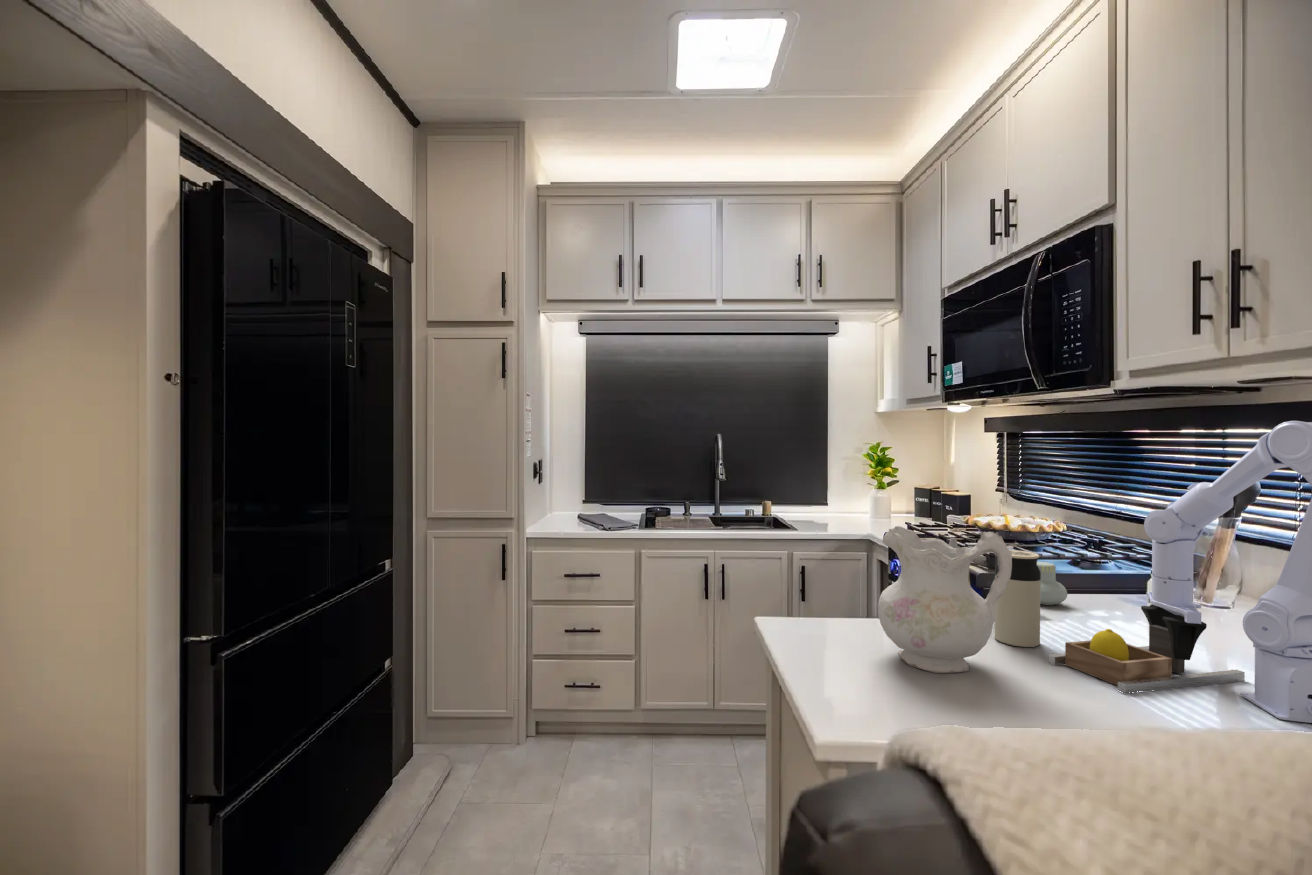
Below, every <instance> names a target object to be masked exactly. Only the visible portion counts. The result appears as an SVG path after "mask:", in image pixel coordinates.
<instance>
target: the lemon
mask: <svg viewBox="0 0 1312 875" xmlns="http://www.w3.org/2000/svg"><path fill="white" fill-rule="evenodd" d="M1090 641H1091V643H1090V650H1092V651H1095V652H1097V653H1100V654H1103V655H1106V656H1109V657H1111V658H1114V659H1117V660H1120V661H1128V660H1129V651H1128V647H1127V644H1128V643H1127V642H1126V641H1125V639H1124V638H1123V637H1122V636H1121V635H1120V634H1118V633H1117V632H1115V631H1113V630H1112V629H1111V628H1106V629H1105V630H1101V631H1098V632H1096V633H1095V634H1094V635H1093V636H1092V638H1091V640H1090Z"/></svg>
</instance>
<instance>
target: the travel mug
mask: <svg viewBox="0 0 1312 875" xmlns="http://www.w3.org/2000/svg"><path fill="white" fill-rule="evenodd" d="M1009 551H1010V553H1011V556H1012V571H1011V577H1010V579H1009V581H1008V584H1007V586H1006V588H1005V590H1004V592H1003V594H1002V596H1001V597H1000V598H999V599H998V601H997V603H996V620H995V622H994V638H995V640H997V641H998V642H1000V643H1003V644H1005V645H1008V646H1012V647H1018V648H1035V647H1038V646H1039V645H1040V644H1041V605H1040V588H1041V571H1040V570H1039V568H1038V566H1037V561H1038V559H1039V558H1040V555H1039V554H1038V553H1035V552H1030V551H1024V550H1015V549H1014V550H1013V549H1009ZM998 571H999V566H998V562H997V564H996V565H995V568H994V574H995V575H994V578H995V577H996V575H997V573H998Z"/></svg>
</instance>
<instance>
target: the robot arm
mask: <svg viewBox="0 0 1312 875" xmlns="http://www.w3.org/2000/svg"><path fill="white" fill-rule="evenodd" d="M1283 468H1285V469H1286V468H1290V469H1291V470H1293V471H1295V472H1296V473H1298V474H1299V475H1300V476H1302V477H1303V478H1304V479H1305V480H1306V481H1307V483H1308V484H1309V485H1310V487H1312V421H1311V422H1310V421H1309V422H1308V421H1307V422H1306V421H1301V420H1290V421H1289V420H1288V421H1284V422H1281V423H1279V424H1278V425H1276V426H1274V428H1272V429H1271V431H1270V432H1267V433H1266V434H1264V435H1262V436H1260V437H1259V439H1258V440H1257V443H1256V445H1254V447H1252V448H1251V449H1249V451H1248V452H1246V453H1245V454H1244V455H1243V456H1242V457H1241V458H1240V459H1238V460H1237V461H1236V462H1234V464H1233V465H1231V467H1230V468H1228V469H1227V470H1225V471H1224V472H1223V473H1222V474H1221V475H1220V476H1219V477H1218V478H1216V480H1214V481H1213V482H1207V481H1203V482H1202V481H1201V482H1199V483H1192V484H1190V485H1189V486H1188V487H1187V490H1188V491H1187V492H1186V493H1185V494H1183V495H1181V496H1180V497H1179V498H1178V499H1176V500H1175V501H1170V502H1169V503H1168V504H1167V507H1166V508H1165V509H1154V510H1151V511H1150V512H1149V514H1148V515H1147V516H1146V517H1145V519H1144V522H1143V525H1144V526H1143V527H1144V532H1145V533H1146V535H1147V537H1149V539H1151V541H1152V542H1151V546H1152V548H1151V592H1150V591H1147V592H1146V603H1148V604H1150V605H1141V606H1140V609H1141V610H1142V612H1143V614H1144V615H1145V618H1146V620H1147V623H1148V626H1149V625H1158V626H1161V627H1165V628H1167V629H1168V631H1169V635H1170V639H1171V647H1172V653H1173V656H1174V658H1175V659H1181V660H1185V661H1190V660H1191V658H1192V655H1193V652H1194V649H1195V647H1196V644H1197V641H1198V640H1199V637H1200V636H1201V635H1202V633H1203V632H1204V631H1205V630H1206V629H1207V626H1208V625H1207V623H1206V622H1204V621H1202V612H1201V611H1199V610H1198V609H1202V604H1201V603H1199V602H1196V601H1195V602H1194V554H1195V552H1194V551H1195V550H1196V547H1197V546H1196V543H1197V541H1198V540H1200V539H1201V537H1202V535H1203V532H1204V528H1206V527H1207V526H1208V525H1210V524H1212V523H1213V522H1215V521H1216V520H1217V519H1219V518H1221V516H1222V515H1224V514H1225V513H1227V512H1229V511H1230V510H1231V509H1233V508H1234V504H1235V503H1234V497H1235V496H1237V495H1239V494H1240V493H1242V492H1244V491H1245V490H1247V489H1248V488H1249V487H1252V486H1253V485H1254V484H1256V483H1258V482H1259V481H1261V480H1262V479H1264V478H1266V477H1267V476H1269V475H1270V474H1272V473H1274V472H1275V471H1277V470H1278V469H1283ZM1242 629H1243V631H1244V633H1245V635H1246V636H1247V638H1248V639H1249V640H1250V641H1251V642H1252V648H1254V692H1245V691H1241V692H1240V694H1239V695H1240V696H1242V697H1243V698H1245V699H1246V700H1248V701H1249V702H1251V703H1252V704H1254V705H1256V706H1258V707H1259V708H1261V709H1262V710H1264V711H1265V712H1267V713H1268V714H1271V715H1272V716H1274V717H1275V718H1276V719H1279V720H1283V721H1291V722H1300V723H1307V724H1308V723H1309V724H1312V497H1311V498H1310V501H1309V503H1308V507H1307V509H1306V511H1305V514H1304V516H1303V519H1302V521H1301V524H1300V526H1299V528H1298V531H1297V533H1296V535H1295V538H1294V541H1293V544H1292V546H1291V548H1290V551H1289V553H1288V556H1287V557H1286V560H1285V563H1284V565H1283V568H1282V570H1281V573H1280V575H1279V577H1278V580H1277V583H1276V584H1275V585H1274V586H1273V587H1272V588H1270V589H1269V590H1268V591H1266V592H1265V593H1264V594H1262V595H1261V596H1260V597H1259V598H1258V601H1257V603H1256V605H1255V606H1254V607H1253V608H1251V609H1249V610H1248V611H1247V612H1246V613H1245V614H1244V616H1243V618H1242Z"/></svg>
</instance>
